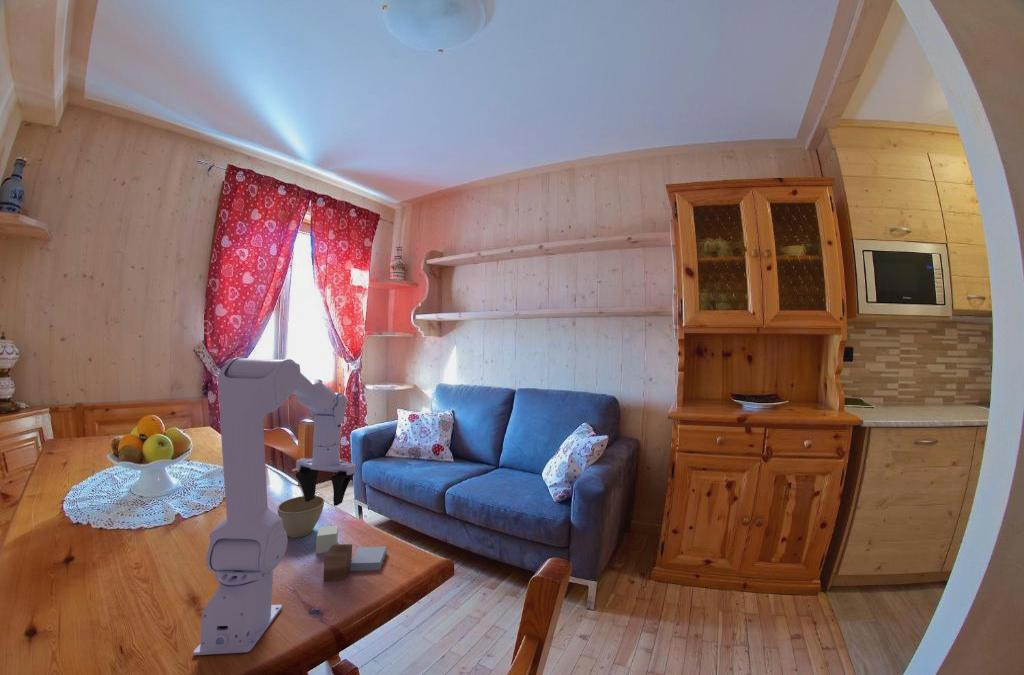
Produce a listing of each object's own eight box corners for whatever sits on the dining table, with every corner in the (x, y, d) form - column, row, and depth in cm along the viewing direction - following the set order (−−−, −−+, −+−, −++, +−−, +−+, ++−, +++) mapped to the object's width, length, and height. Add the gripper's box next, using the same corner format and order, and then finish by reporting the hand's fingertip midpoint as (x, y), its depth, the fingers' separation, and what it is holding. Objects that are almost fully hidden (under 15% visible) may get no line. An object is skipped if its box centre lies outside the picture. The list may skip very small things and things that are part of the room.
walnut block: (344, 580, 71) (345, 555, 71) (323, 581, 70) (324, 555, 70) (351, 568, 75) (352, 544, 75) (331, 568, 74) (332, 544, 74)
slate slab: (379, 572, 74) (379, 562, 74) (349, 573, 74) (350, 563, 74) (386, 555, 80) (386, 546, 80) (358, 556, 80) (359, 547, 80)
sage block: (335, 551, 81) (336, 533, 81) (315, 554, 79) (316, 536, 79) (337, 542, 84) (338, 525, 84) (318, 544, 83) (319, 527, 83)
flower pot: (301, 546, 82) (303, 515, 82) (265, 540, 84) (267, 509, 84) (332, 525, 92) (333, 497, 92) (298, 520, 94) (300, 493, 94)
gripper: (364, 441, 86) (361, 498, 86) (312, 436, 89) (310, 491, 89) (345, 449, 79) (342, 511, 79) (290, 444, 82) (286, 503, 82)
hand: (323, 502), depth 83 cm, fingers open, 7 cm apart
